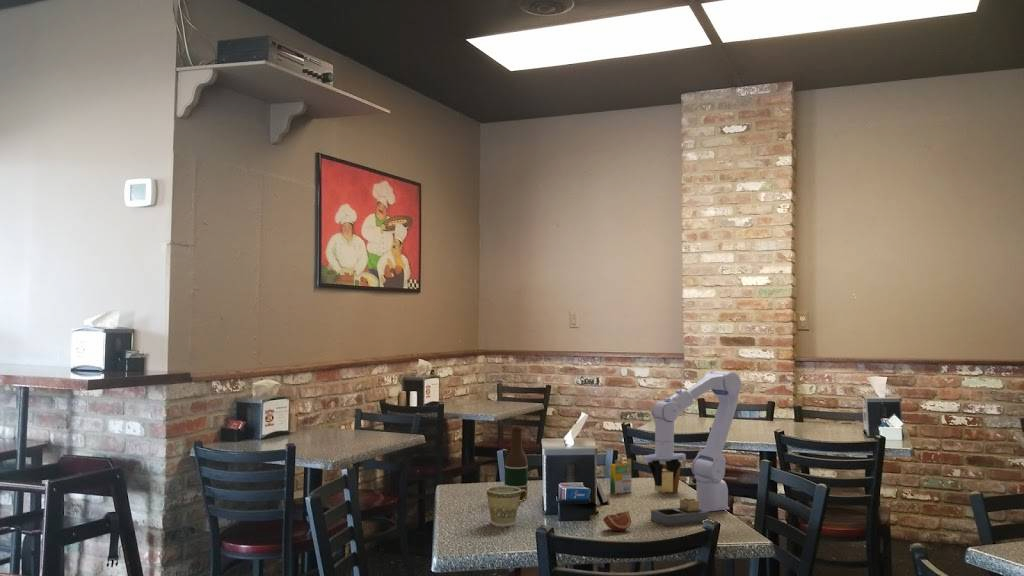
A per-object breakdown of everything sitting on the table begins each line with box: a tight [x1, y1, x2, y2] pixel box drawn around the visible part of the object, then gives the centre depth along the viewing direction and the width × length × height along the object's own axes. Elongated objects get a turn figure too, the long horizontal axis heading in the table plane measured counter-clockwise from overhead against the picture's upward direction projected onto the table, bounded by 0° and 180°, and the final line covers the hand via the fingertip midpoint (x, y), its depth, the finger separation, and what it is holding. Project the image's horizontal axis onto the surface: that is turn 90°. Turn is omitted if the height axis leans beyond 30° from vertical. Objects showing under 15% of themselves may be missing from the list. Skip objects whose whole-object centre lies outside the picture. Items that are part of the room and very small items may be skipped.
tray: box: [650, 496, 710, 528], centre depth 237 cm, size 15×8×6 cm, turn 114°
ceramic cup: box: [486, 485, 528, 528], centre depth 233 cm, size 13×10×10 cm
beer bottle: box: [504, 425, 529, 500], centre depth 264 cm, size 8×8×24 cm
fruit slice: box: [603, 510, 632, 532], centre depth 226 cm, size 8×7×5 cm
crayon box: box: [609, 458, 632, 495], centre depth 276 cm, size 7×3×12 cm, turn 120°
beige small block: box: [654, 469, 673, 493], centre depth 246 cm, size 4×4×6 cm
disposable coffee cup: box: [659, 459, 683, 494], centre depth 279 cm, size 10×10×12 cm
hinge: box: [596, 479, 611, 506], centre depth 264 cm, size 17×5×10 cm, turn 22°
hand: (664, 484), depth 246 cm, fingers closed on beige small block, 4 cm apart
